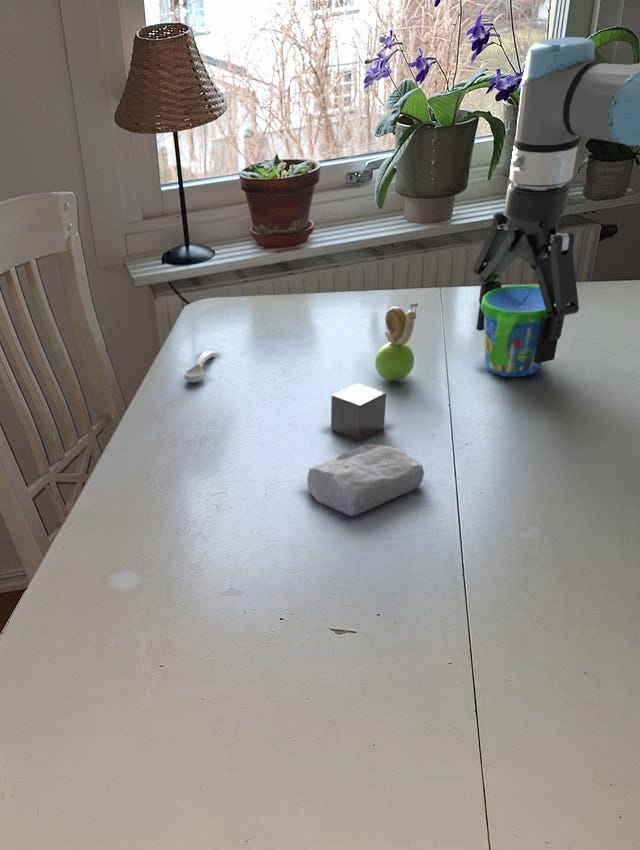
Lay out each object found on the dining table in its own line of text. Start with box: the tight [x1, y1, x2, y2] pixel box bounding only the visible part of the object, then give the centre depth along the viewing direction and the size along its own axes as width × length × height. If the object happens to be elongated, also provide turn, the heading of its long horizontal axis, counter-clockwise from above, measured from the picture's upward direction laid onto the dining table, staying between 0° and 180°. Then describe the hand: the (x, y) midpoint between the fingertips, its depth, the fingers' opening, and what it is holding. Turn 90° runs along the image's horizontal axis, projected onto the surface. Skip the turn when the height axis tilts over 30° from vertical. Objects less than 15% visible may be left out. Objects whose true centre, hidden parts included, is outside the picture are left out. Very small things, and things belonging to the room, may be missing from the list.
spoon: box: [183, 350, 216, 383], centre depth 143 cm, size 3×12×2 cm, turn 164°
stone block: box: [306, 444, 425, 517], centre depth 110 cm, size 12×5×10 cm
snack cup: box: [481, 284, 556, 378], centre depth 129 cm, size 16×10×10 cm
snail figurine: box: [374, 302, 419, 382], centre depth 130 cm, size 5×6×12 cm
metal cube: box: [330, 382, 387, 442], centre depth 121 cm, size 5×5×5 cm
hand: (513, 344), depth 131 cm, fingers open, 13 cm apart
